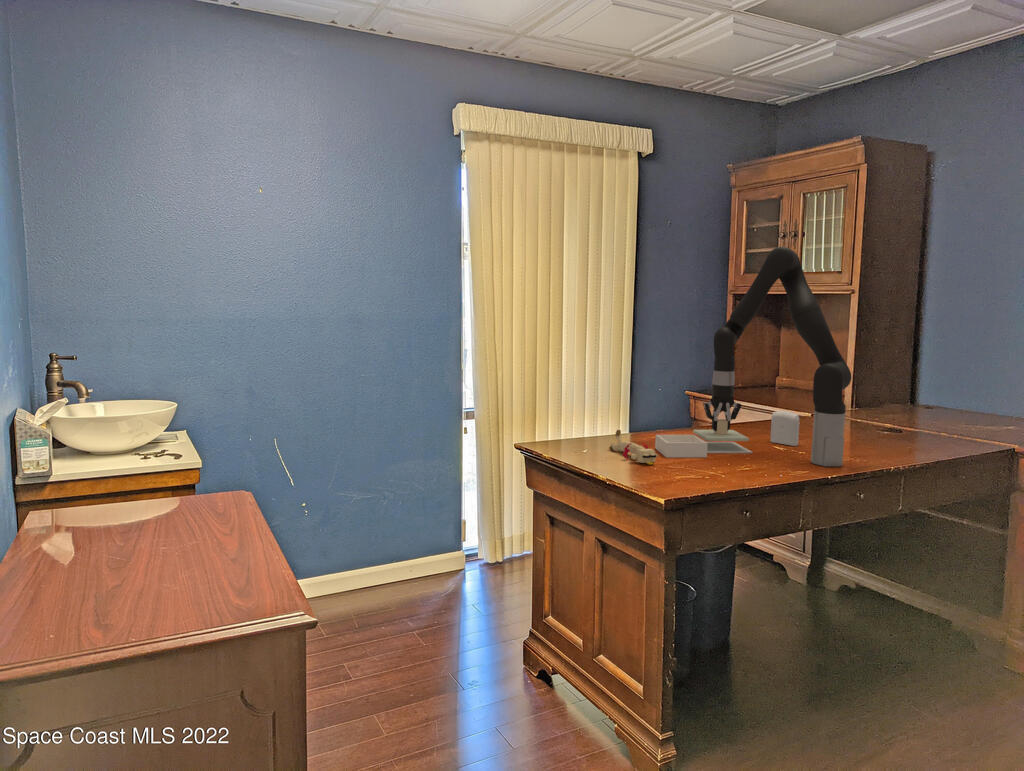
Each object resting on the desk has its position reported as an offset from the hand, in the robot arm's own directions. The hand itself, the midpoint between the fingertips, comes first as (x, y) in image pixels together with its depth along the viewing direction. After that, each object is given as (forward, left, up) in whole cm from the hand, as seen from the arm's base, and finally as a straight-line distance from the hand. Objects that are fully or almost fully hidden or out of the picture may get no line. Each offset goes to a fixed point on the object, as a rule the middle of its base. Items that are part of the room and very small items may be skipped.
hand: (720, 430), depth 254 cm
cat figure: (-15, +35, -7) cm, 39 cm away
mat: (0, 0, -6) cm, 6 cm away
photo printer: (+7, -27, -7) cm, 29 cm away
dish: (-8, +17, -6) cm, 20 cm away
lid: (0, 0, -2) cm, 2 cm away
